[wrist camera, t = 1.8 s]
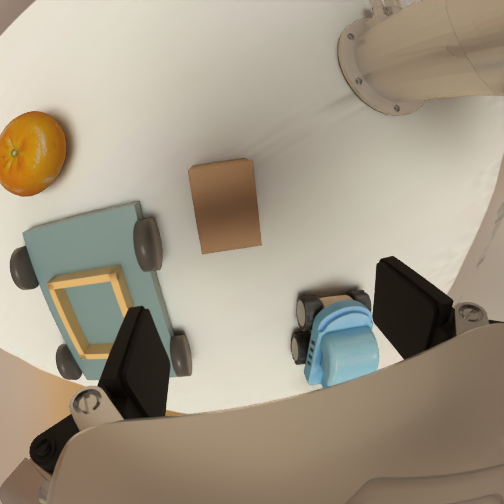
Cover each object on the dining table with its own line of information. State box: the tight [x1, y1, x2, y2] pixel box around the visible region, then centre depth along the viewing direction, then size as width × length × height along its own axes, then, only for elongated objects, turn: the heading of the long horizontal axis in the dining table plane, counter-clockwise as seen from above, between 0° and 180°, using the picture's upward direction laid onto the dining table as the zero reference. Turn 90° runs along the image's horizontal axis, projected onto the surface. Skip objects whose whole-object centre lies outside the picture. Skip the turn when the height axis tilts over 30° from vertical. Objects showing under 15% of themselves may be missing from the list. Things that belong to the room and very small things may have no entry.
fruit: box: [0, 111, 66, 196], centre depth 19 cm, size 8×9×8 cm
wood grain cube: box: [188, 158, 262, 254], centre depth 25 cm, size 7×5×6 cm
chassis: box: [10, 201, 192, 380], centre depth 27 cm, size 22×18×5 cm
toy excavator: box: [291, 290, 379, 388], centre depth 28 cm, size 9×17×17 cm, turn 179°
